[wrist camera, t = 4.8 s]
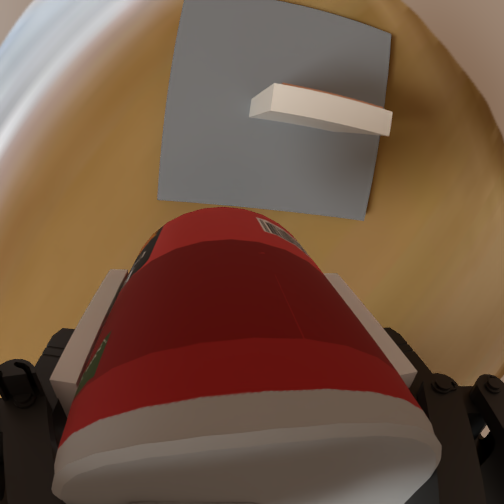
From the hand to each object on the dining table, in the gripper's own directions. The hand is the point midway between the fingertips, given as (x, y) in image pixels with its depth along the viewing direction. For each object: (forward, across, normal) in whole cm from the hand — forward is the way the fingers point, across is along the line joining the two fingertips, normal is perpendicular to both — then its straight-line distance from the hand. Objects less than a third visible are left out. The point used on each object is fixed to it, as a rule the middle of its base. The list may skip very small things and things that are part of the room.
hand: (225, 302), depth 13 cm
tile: (+14, -6, -9) cm, 17 cm away
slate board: (+15, -5, -10) cm, 18 cm away
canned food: (+2, 0, 0) cm, 2 cm away
